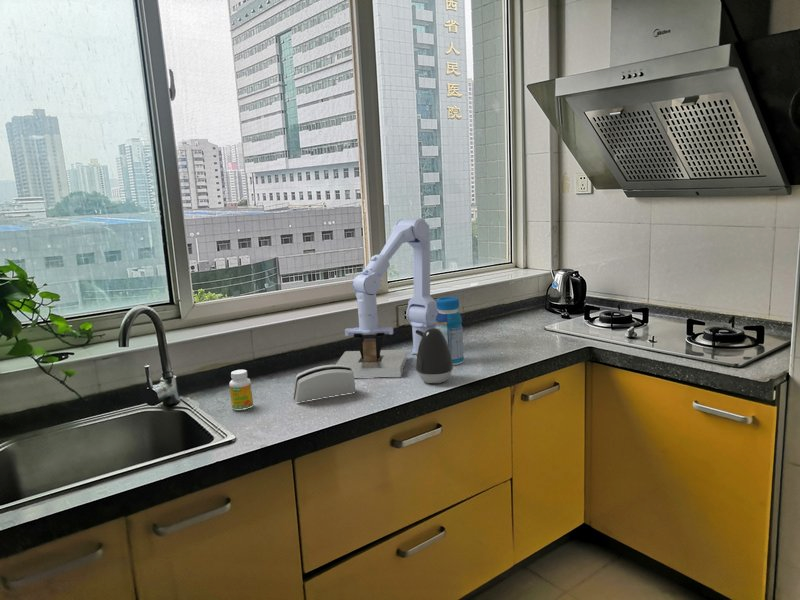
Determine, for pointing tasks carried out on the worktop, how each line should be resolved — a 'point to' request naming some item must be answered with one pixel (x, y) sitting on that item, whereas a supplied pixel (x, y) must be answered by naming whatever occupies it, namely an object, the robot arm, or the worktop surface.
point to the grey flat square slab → (375, 364)
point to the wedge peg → (370, 350)
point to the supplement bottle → (240, 390)
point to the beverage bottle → (451, 326)
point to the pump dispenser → (433, 357)
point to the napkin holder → (323, 382)
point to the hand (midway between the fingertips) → (371, 357)
